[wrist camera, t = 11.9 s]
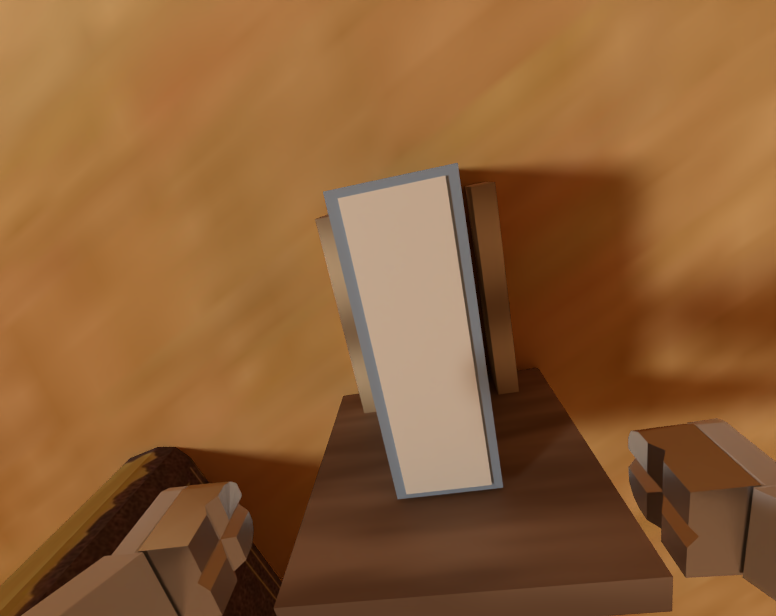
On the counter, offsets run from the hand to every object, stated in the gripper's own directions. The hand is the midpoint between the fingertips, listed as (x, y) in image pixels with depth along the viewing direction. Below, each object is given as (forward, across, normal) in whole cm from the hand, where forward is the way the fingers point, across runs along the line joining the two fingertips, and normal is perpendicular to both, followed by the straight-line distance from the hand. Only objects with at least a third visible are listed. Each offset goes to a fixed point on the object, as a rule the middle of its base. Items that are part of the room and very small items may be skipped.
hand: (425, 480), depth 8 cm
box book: (+17, 0, +1) cm, 17 cm away
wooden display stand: (+17, 0, +2) cm, 17 cm away
